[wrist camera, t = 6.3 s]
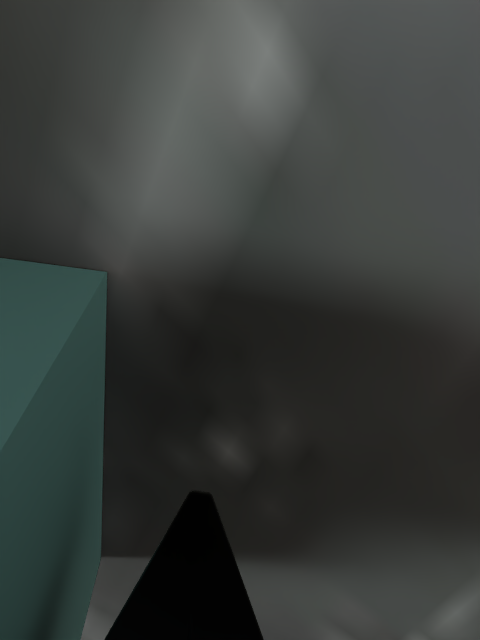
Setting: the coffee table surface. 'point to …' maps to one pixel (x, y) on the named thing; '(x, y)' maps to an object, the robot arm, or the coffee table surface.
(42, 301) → the holed block
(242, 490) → the coffee table surface
